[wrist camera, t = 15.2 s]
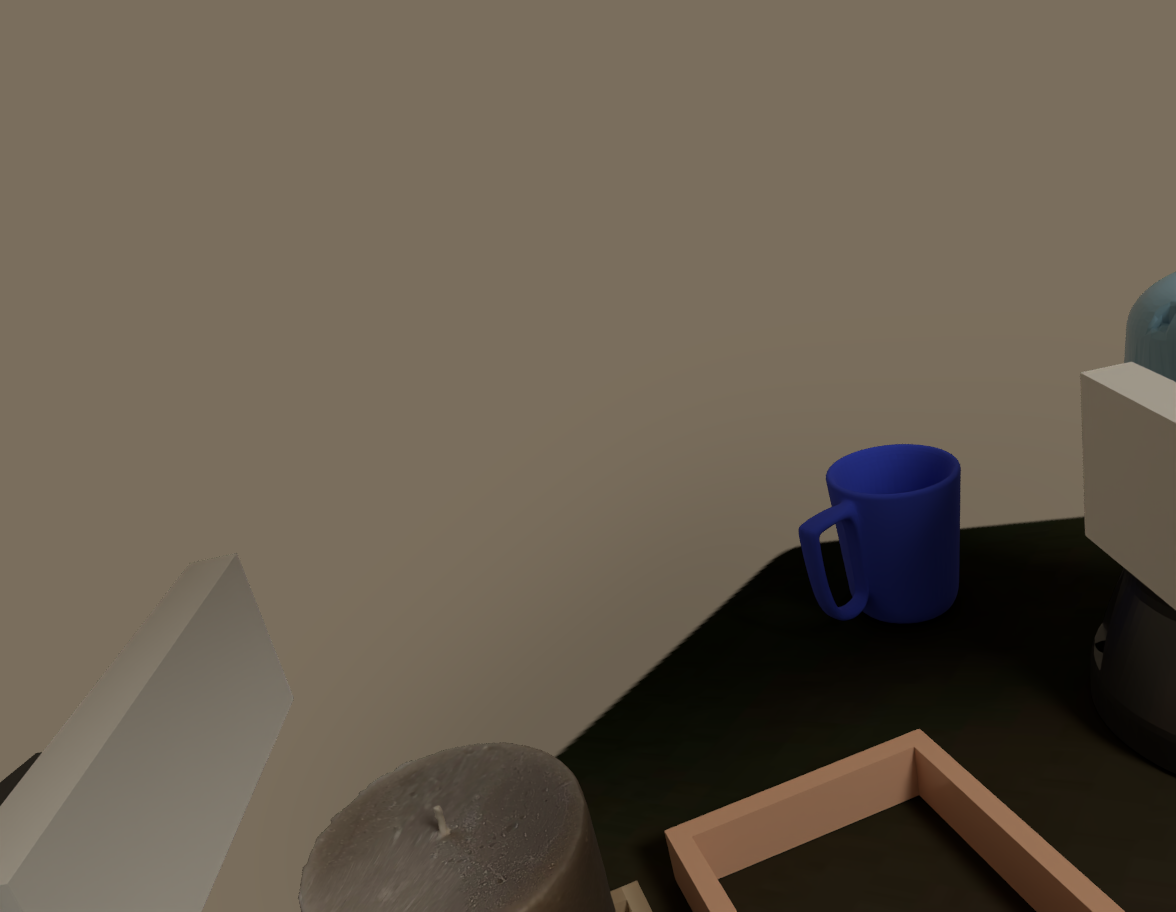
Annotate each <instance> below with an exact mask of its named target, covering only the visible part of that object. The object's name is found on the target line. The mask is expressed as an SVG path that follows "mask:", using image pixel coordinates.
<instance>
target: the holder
mask: <svg viewBox="0 0 1176 912" xmlns="http://www.w3.org/2000/svg"><path fill="white" fill-rule="evenodd" d="M918 795H920V796H921V797H922V798H923V799H924V800H925V801H926V802H927V803H928V804H929V805H930V806H931V807H932V808H933V809H934V810H935V811H936V812H937V813H938V814H939V815H940V816H941V817H942V818H943V819H944V820H945V821H946V822H947V823H948V824H949V825H950V826H951V827H952V828H953V829H954V830H955V831H956V832H957V833H958V834H959V835H960V836H961V837H962V838H963V839H964V840H965V841H966V842H967V843H968V844H969V845H970V846H971V847H972V848H973V849H974V850H975V851H976V852H977V853H978V854H979V855H980V856H981V857H982V858H983V859H984V860H985V861H986V862H987V863H988V864H989V865H990V866H991V867H992V868H993V869H994V870H995V871H996V872H997V873H998V874H999V875H1000V876H1001V877H1002V878H1003V879H1004V880H1005V881H1006V882H1007V883H1008V884H1009V885H1010V886H1011V887H1012V888H1013V889H1014V890H1015V891H1016V892H1017V893H1018V894H1019V895H1020V896H1021V897H1022V898H1023V899H1024V900H1025V901H1026V902H1027V903H1028V904H1029V905H1030V906H1031V907H1032V908H1033V909H1034V910H1035V911H1036V912H1125V911H1124V910H1123V909H1121V908H1120V907H1119V906H1118V905H1117V904H1116V903H1115V902H1114V901H1113V900H1111V899H1110V898H1109V897H1108V896H1107V895H1106V894H1105V893H1104V892H1102V891H1101V890H1100V889H1099V888H1098V887H1097V886H1096V885H1095V884H1093V883H1092V882H1091V881H1090V880H1089V879H1088V878H1087V877H1086V876H1084V875H1083V874H1082V873H1081V872H1080V871H1079V870H1078V869H1077V868H1075V867H1074V866H1073V865H1072V864H1071V863H1070V862H1069V861H1068V860H1066V859H1065V858H1064V857H1063V856H1062V855H1061V854H1060V853H1059V852H1057V851H1056V850H1055V849H1054V848H1053V847H1052V846H1051V845H1050V844H1048V843H1047V842H1046V841H1045V840H1044V839H1043V838H1042V837H1041V836H1039V835H1038V834H1037V833H1036V832H1035V831H1034V830H1033V829H1032V828H1030V827H1029V826H1028V825H1027V824H1026V823H1025V822H1024V821H1023V820H1021V819H1020V818H1019V817H1018V816H1017V815H1016V814H1015V813H1014V812H1012V811H1011V810H1010V809H1009V808H1008V807H1007V806H1006V805H1005V804H1003V803H1002V802H1001V801H1000V800H999V799H998V798H997V797H996V796H994V795H993V794H992V793H991V792H990V791H989V790H988V789H987V788H985V787H984V786H983V785H982V784H981V783H980V782H979V781H978V780H976V779H975V778H974V777H973V776H972V775H971V774H970V773H969V772H967V771H966V770H965V769H964V768H963V767H962V766H961V765H960V764H959V763H957V762H956V761H955V760H954V759H953V758H952V757H951V756H950V755H948V754H947V753H946V752H945V751H944V750H943V749H942V748H941V747H939V746H938V745H937V744H936V743H935V742H934V741H933V740H932V739H930V738H929V737H928V736H927V735H926V734H925V733H924V732H923V731H921V730H920V729H917V730H915V731H912V732H910V733H907V734H905V735H902V736H900V737H897V738H895V739H892V740H890V741H887V742H885V743H882V744H880V745H877V746H875V747H872V748H870V749H867V750H865V751H862V752H860V753H857V754H855V755H852V756H850V757H847V758H845V759H842V760H840V761H837V762H835V763H832V764H830V765H827V766H825V767H822V768H820V769H817V770H815V771H812V772H810V773H807V774H805V775H802V776H800V777H797V778H795V779H792V780H790V781H787V782H785V783H782V784H780V785H777V786H775V787H772V788H770V789H767V790H765V791H762V792H760V793H757V794H755V795H752V796H750V797H747V798H745V799H742V800H740V801H737V802H735V803H732V804H730V805H727V806H725V807H722V808H720V809H718V810H715V811H713V812H710V813H708V814H705V815H703V816H700V817H698V818H695V819H693V820H690V821H688V822H685V823H683V824H680V825H678V826H675V827H673V828H670V829H668V830H665V831H664V832H665V836H666V841H667V845H668V850H669V854H670V858H671V863H672V867H673V872H674V876H675V880H676V882H677V884H678V885H679V887H680V889H681V891H682V893H683V895H684V896H685V898H686V900H687V902H688V904H689V906H690V907H691V909H692V911H693V912H737V911H736V909H735V908H734V906H733V904H732V903H731V901H730V899H729V898H728V896H727V894H726V893H725V891H724V889H723V888H722V886H721V884H720V883H719V881H718V879H719V878H722V877H724V876H727V875H729V874H731V873H734V872H736V871H739V870H741V869H743V868H746V867H748V866H751V865H753V864H755V863H758V862H760V861H763V860H765V859H767V858H770V857H772V856H775V855H777V854H779V853H782V852H784V851H786V850H789V849H791V848H794V847H796V846H798V845H801V844H803V843H806V842H808V841H810V840H813V839H815V838H818V837H820V836H822V835H825V834H827V833H830V832H832V831H834V830H837V829H839V828H842V827H844V826H846V825H849V824H851V823H854V822H856V821H858V820H861V819H863V818H866V817H868V816H870V815H873V814H875V813H878V812H880V811H882V810H885V809H887V808H889V807H892V806H894V805H897V804H899V803H901V802H904V801H906V800H909V799H911V798H913V797H916V796H918Z"/></svg>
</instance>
